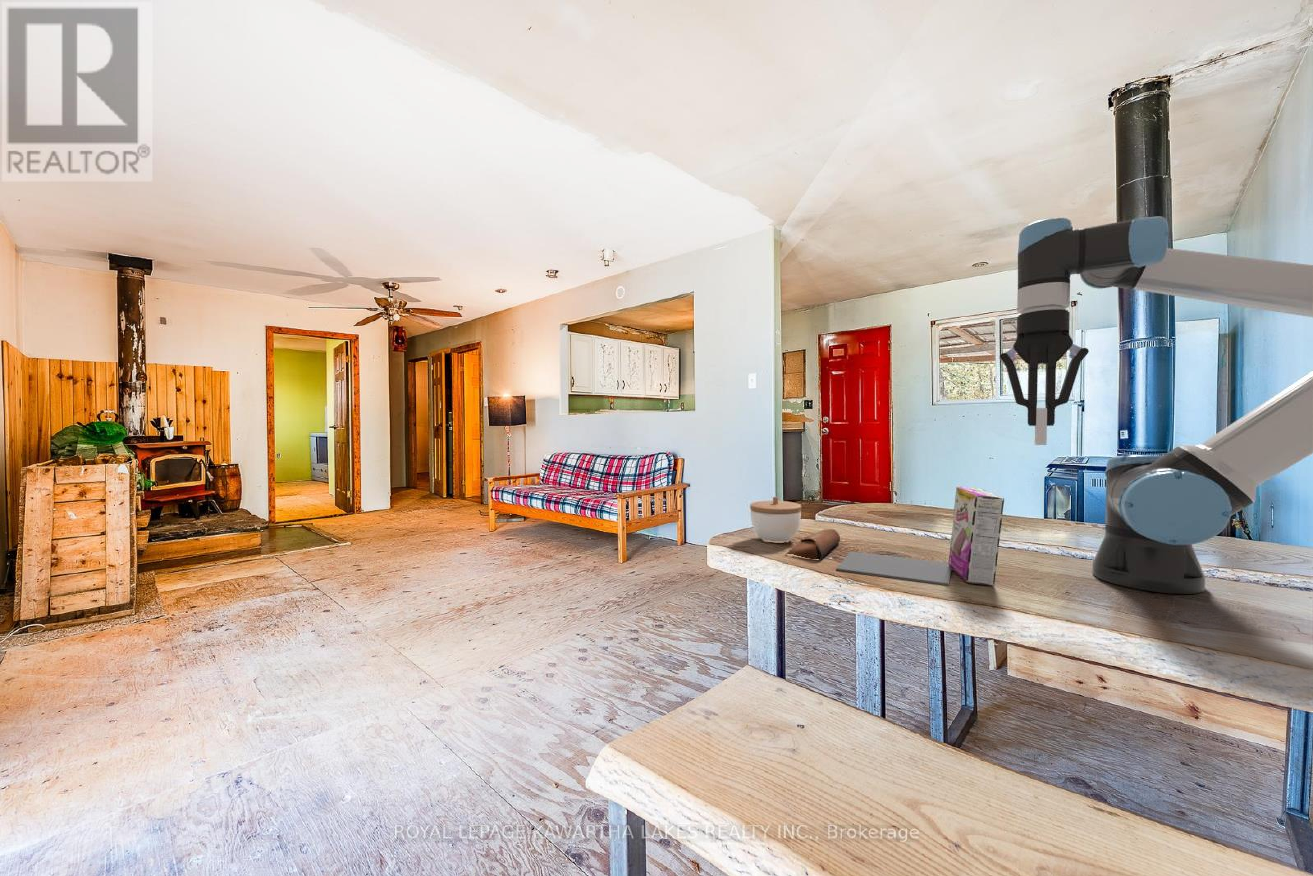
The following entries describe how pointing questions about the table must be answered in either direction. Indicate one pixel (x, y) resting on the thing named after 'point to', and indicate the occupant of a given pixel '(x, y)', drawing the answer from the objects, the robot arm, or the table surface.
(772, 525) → the lidded bowl
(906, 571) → the mat
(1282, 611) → the table surface
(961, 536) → the candy bar box
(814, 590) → the table surface
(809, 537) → the sunglasses case
